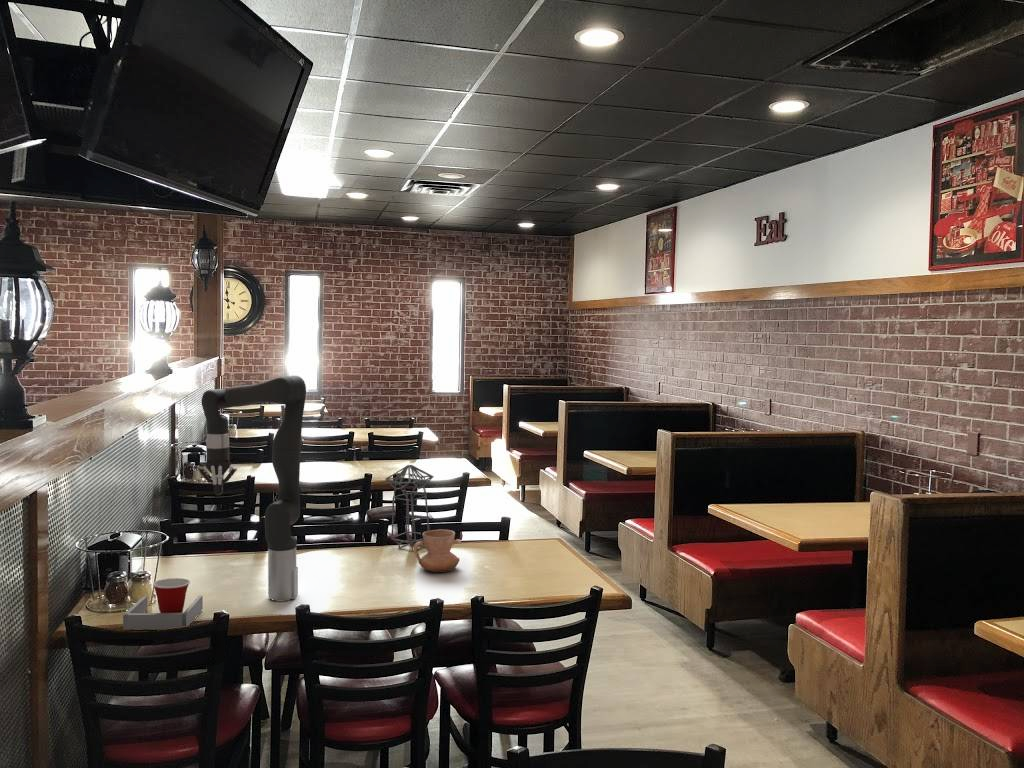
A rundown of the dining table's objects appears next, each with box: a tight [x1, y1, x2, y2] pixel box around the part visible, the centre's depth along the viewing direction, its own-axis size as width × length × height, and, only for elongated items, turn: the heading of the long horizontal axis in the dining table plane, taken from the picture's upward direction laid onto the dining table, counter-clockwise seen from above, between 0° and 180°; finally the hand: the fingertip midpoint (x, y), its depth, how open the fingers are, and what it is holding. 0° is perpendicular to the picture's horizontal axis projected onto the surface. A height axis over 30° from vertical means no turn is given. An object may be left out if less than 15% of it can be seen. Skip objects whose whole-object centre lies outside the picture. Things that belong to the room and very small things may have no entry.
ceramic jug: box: [413, 529, 462, 573], centre depth 302 cm, size 18×14×14 cm
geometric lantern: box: [384, 464, 435, 552], centre depth 329 cm, size 16×16×35 cm
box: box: [122, 595, 204, 630], centre depth 247 cm, size 18×16×5 cm
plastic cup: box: [152, 577, 191, 613], centre depth 249 cm, size 11×11×12 cm
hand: (218, 494), depth 280 cm, fingers closed
